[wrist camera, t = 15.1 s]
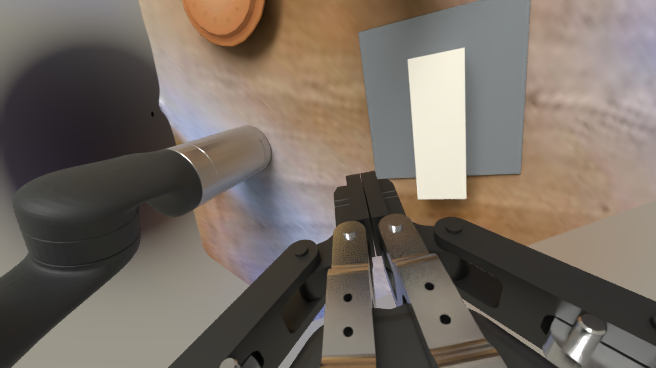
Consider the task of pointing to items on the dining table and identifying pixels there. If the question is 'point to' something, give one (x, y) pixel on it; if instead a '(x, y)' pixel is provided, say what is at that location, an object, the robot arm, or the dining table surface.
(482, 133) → the mat
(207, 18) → the pie
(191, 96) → the dining table surface
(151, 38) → the dining table surface
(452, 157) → the tall cream block
